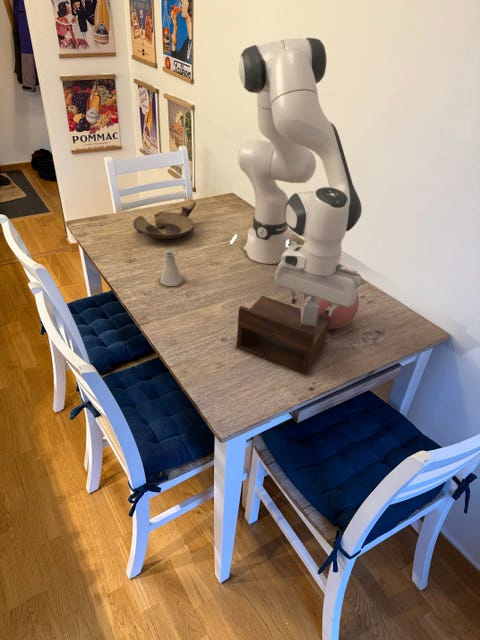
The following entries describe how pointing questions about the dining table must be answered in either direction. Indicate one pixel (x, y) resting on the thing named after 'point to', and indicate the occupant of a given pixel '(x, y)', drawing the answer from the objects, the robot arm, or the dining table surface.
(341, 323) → the balloon
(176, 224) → the broken brown bowl
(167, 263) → the flask
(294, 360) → the rack
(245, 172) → the robot arm
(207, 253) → the dining table surface
